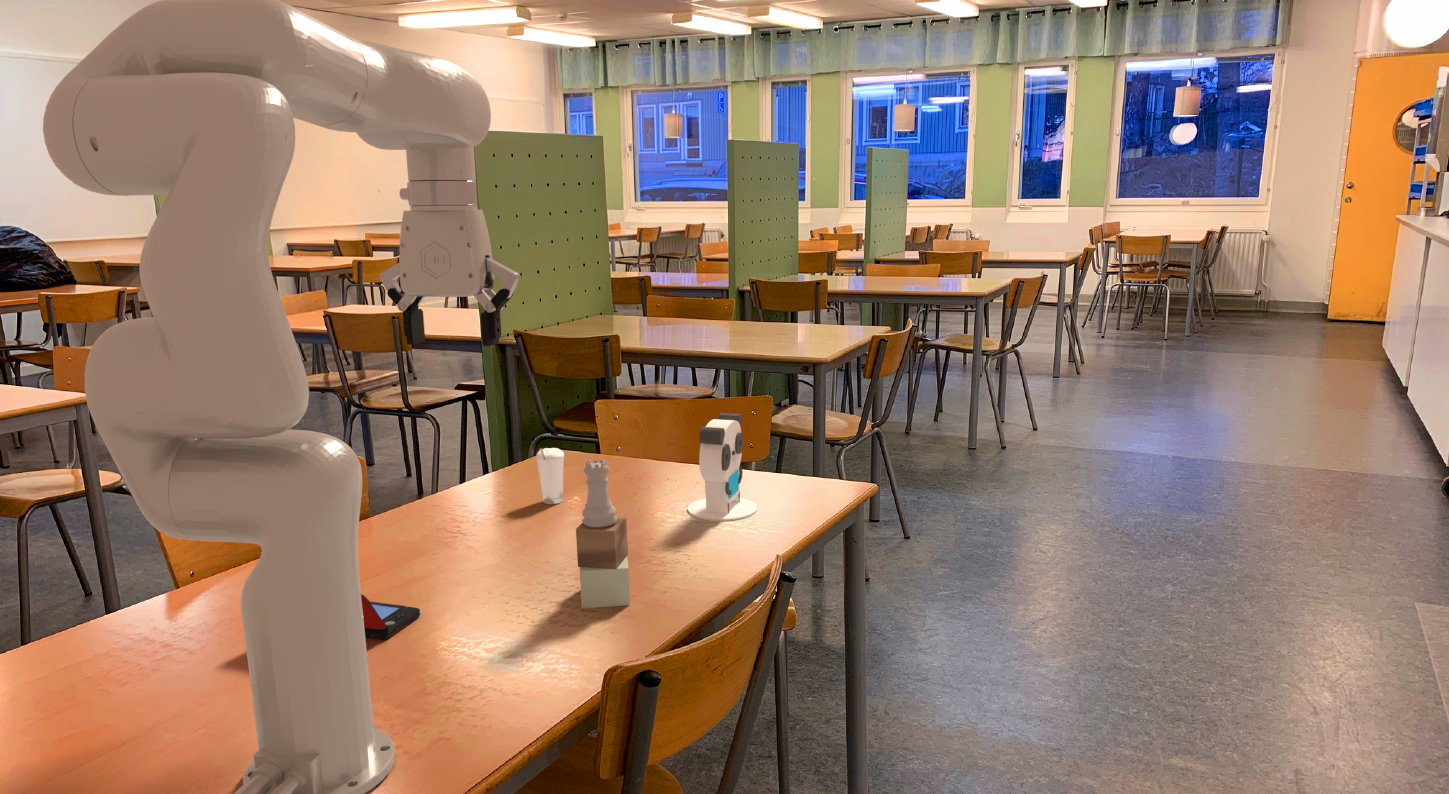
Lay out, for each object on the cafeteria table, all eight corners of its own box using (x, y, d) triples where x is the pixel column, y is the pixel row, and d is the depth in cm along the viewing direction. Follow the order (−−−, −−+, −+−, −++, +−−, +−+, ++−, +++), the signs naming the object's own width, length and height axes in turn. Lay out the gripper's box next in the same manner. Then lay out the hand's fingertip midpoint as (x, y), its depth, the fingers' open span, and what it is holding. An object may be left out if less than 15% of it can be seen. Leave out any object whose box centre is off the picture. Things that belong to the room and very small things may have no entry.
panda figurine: (744, 525, 150) (743, 431, 147) (676, 518, 154) (673, 426, 151) (765, 501, 161) (765, 413, 158) (701, 496, 165) (699, 410, 162)
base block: (629, 605, 122) (628, 568, 121) (581, 608, 121) (579, 571, 120) (628, 586, 128) (626, 550, 127) (582, 589, 127) (580, 553, 126)
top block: (616, 569, 121) (614, 530, 120) (578, 567, 122) (575, 529, 121) (627, 554, 125) (626, 517, 124) (591, 552, 126) (589, 516, 125)
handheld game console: (424, 616, 120) (420, 560, 119) (368, 656, 110) (362, 594, 108) (340, 605, 124) (334, 550, 122) (278, 642, 114) (271, 582, 112)
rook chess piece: (615, 528, 120) (611, 466, 119) (579, 529, 120) (575, 467, 119) (619, 517, 125) (616, 456, 123) (585, 518, 125) (581, 457, 123)
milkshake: (531, 506, 161) (528, 447, 159) (546, 496, 166) (543, 439, 164) (556, 508, 159) (553, 449, 157) (571, 498, 164) (568, 441, 162)
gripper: (357, 198, 111) (370, 347, 114) (499, 196, 107) (508, 350, 110) (392, 198, 118) (403, 338, 121) (526, 196, 114) (533, 341, 118)
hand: (453, 344), depth 116 cm, fingers open, 9 cm apart
